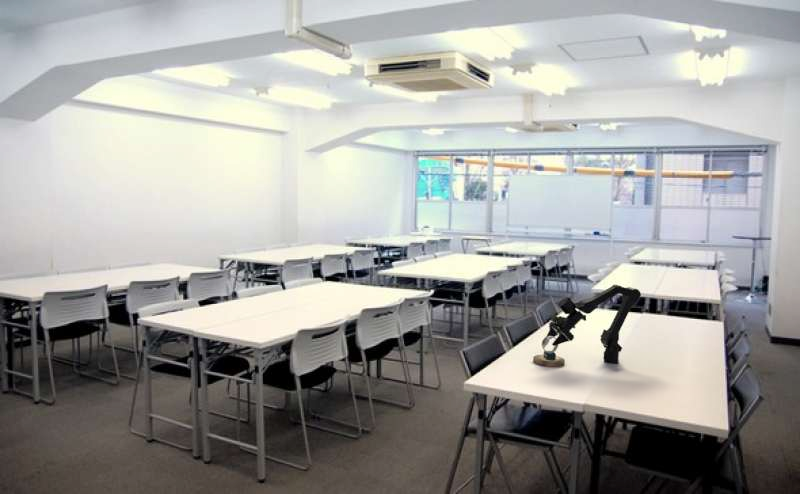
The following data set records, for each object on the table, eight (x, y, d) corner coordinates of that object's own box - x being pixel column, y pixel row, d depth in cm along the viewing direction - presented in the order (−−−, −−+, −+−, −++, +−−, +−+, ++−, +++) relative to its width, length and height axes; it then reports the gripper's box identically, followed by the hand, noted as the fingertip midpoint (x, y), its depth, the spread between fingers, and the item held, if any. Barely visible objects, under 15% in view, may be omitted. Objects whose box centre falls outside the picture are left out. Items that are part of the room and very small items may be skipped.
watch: (539, 356, 284) (540, 335, 283) (555, 356, 284) (556, 335, 283) (542, 359, 279) (543, 337, 278) (559, 360, 279) (560, 338, 278)
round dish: (567, 361, 285) (567, 356, 285) (561, 369, 272) (561, 364, 272) (537, 356, 292) (537, 352, 292) (529, 364, 279) (530, 359, 278)
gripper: (553, 305, 289) (531, 327, 289) (569, 313, 271) (545, 336, 270) (567, 320, 291) (545, 342, 291) (583, 329, 273) (560, 352, 272)
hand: (549, 342), depth 281 cm, fingers open, 9 cm apart
